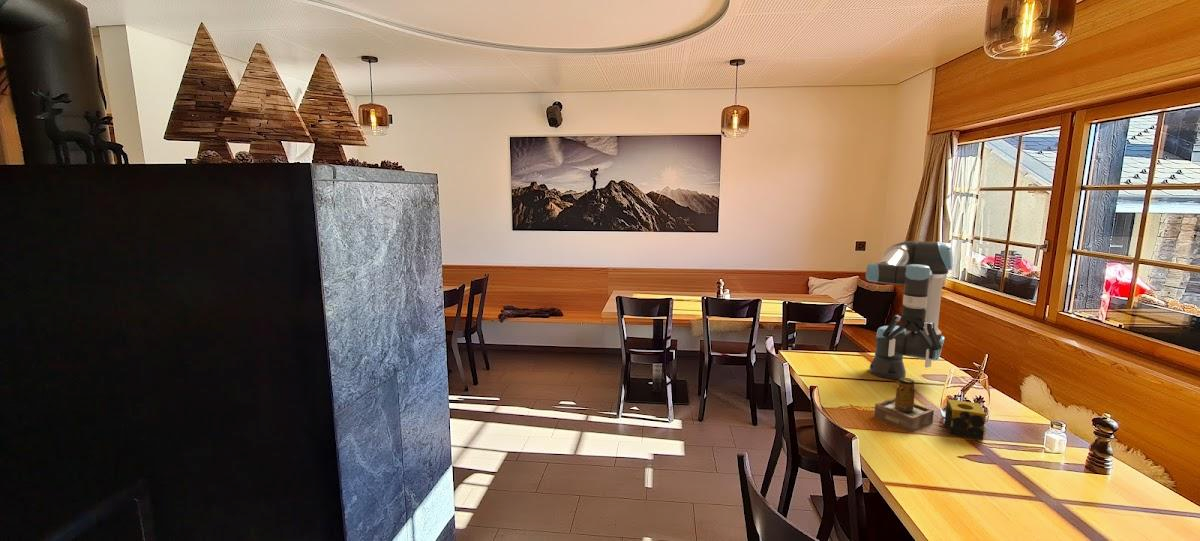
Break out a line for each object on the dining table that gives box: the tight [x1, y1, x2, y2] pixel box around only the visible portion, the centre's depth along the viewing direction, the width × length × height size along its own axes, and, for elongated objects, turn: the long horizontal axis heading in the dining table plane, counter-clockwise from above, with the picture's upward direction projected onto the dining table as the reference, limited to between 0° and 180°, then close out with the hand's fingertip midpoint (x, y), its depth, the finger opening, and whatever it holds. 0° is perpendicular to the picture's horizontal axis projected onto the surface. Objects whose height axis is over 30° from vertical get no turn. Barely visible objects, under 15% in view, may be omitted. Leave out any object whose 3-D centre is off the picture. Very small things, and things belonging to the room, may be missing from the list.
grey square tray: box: [873, 396, 935, 433], centre depth 188 cm, size 14×14×5 cm
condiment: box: [891, 377, 922, 416], centre depth 186 cm, size 7×8×12 cm
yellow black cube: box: [944, 398, 987, 440], centre depth 179 cm, size 10×10×10 cm
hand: (908, 361), depth 185 cm, fingers open, 13 cm apart
